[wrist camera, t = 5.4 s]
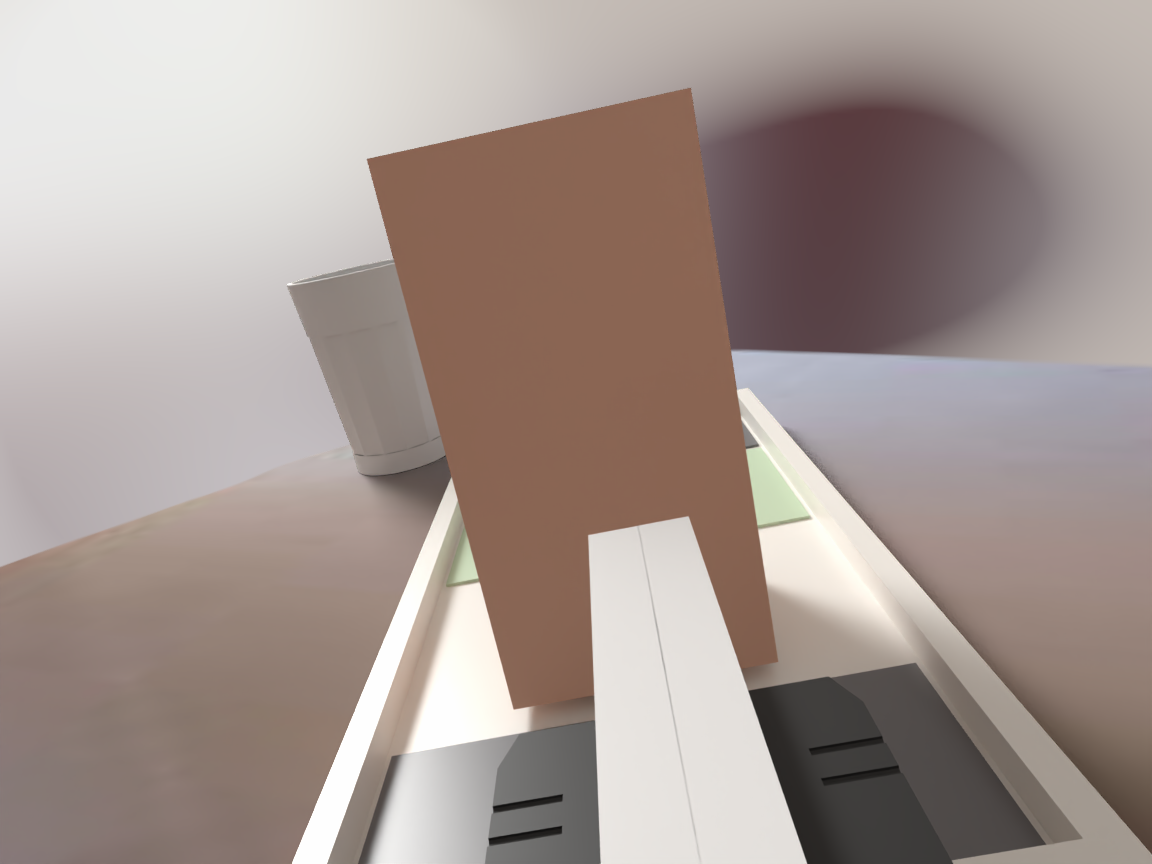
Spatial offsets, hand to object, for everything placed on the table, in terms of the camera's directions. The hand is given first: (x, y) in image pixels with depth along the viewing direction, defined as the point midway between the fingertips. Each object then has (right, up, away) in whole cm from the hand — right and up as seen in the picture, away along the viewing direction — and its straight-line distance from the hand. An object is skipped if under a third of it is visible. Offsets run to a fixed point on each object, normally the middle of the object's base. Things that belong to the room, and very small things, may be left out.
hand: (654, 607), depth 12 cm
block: (+1, -3, +12) cm, 12 cm away
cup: (-12, +1, +40) cm, 42 cm away
